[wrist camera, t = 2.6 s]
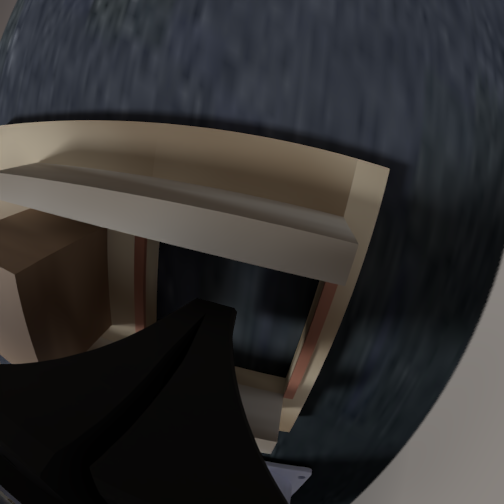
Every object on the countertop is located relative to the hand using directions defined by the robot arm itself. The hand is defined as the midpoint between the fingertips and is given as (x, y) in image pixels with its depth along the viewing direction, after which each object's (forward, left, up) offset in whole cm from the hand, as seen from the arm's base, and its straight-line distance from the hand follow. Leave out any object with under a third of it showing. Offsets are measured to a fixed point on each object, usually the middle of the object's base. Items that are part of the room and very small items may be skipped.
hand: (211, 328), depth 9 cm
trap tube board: (0, +5, -2) cm, 5 cm away
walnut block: (0, +7, -1) cm, 7 cm away
